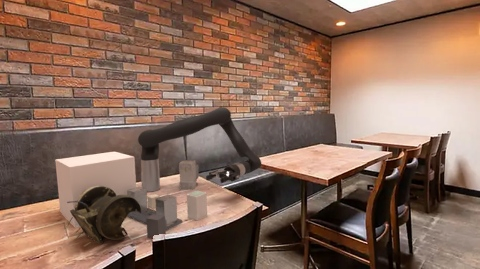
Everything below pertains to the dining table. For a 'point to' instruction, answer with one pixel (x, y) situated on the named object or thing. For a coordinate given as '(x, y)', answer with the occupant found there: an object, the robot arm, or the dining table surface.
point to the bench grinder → (102, 213)
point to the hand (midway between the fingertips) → (213, 179)
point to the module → (197, 205)
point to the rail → (163, 207)
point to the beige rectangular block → (152, 200)
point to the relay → (155, 225)
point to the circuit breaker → (188, 174)
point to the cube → (92, 177)
